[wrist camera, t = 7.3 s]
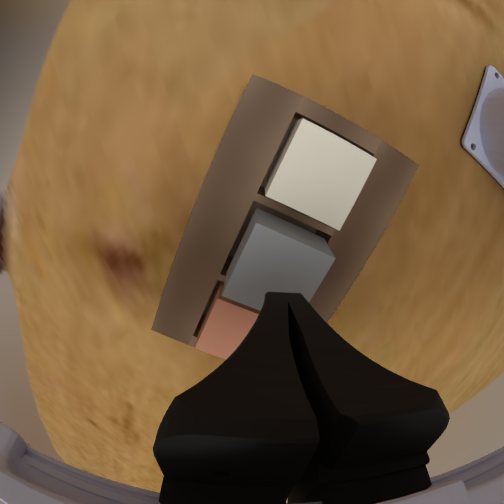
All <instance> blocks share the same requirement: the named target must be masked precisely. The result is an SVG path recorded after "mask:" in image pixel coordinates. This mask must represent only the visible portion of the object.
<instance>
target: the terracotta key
mask: <svg viewBox="0 0 504 504" xmlns="http://www.w3.org/2000/svg"><path fill="white" fill-rule="evenodd" d="M223 288H224V282H222V281H220V283H219V286H218V288H217V290H216V292H215V294H214V297H213V299H212V301H211V303H210V305H209V308H208V310H207V312H206V314H205V317H204V319H203V321H202V323H201V327H200V331H199V334H198V338H197V342H196V345H195V348H196V349H198V350H201V351H204V352H206V353H209V354H212V355H215V356H218V357H220V358H223V359H227V358H228V357H229V356H230V355H231V354H232V353H233V352H234V351H235V350H236V349H237V347H238V346H239V345H240V344H241V342H242V341H243V340H244V338H245V337H246V336H247V334H248V333H249V331H250V329H251V328H252V326H253V325H254V323H255V321H256V319H257V317H258V315H259V313H260V310H257V309H254V308H252V307H249V306H246V305H244V304H241V303H239V302H236V301H234V300H231V299H228V298H226V297H223V296H222V292H223Z"/></svg>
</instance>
